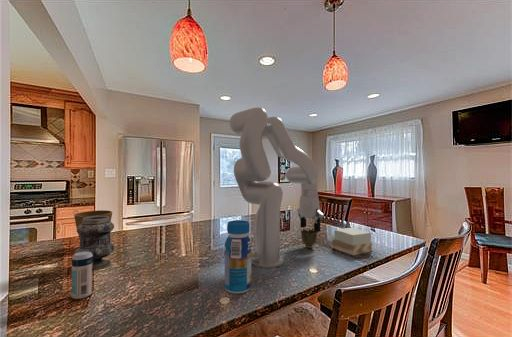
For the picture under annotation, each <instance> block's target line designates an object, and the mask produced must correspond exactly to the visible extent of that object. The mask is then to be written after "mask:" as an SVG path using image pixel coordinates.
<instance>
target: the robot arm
mask: <svg viewBox="0 0 512 337" xmlns="http://www.w3.org/2000/svg"><path fill="white" fill-rule="evenodd" d="M229 127H230V130H232V132H233V133H235V134H236V135H238V136H240V139H239V151H240V154H241V157H240V158H239V159H237V160H236V161H235V162H234V165H233V175H234V179H235V181H236V184H237V186H238V188H239V191H240V194H241V195H242V197H243V199H244V201H246V202H247V203H249V204H253V205H258V209H257V211H256V214H255V248H254V249H253V250H252V256H251V265H253V266H255V267H257V268H258V267H259V268H263V269H264V268H265V269H275V268H279V267H281V266H283V264H284V263H285V262H284V258H283V257H282V256H280V255H281V253H280V252H281V250H280V246H281V243H280V242H281V241H280V240H281V230H280V229H281V223H280V222H281V221H280V220H281V218H280V217H281V206H282V200H283V196H284V195H283V193H284V192H283V189H282V187H281V185H280V184H278V183H277V182H274V181H268V179H269V178H270V176H271V172H272V171H271V167H270V162H269V161H268V160H269V159H268V157H267V155H266V152H265V149H264V145H263V140H266V139H267V140H268V141H269V143H270V145H271V147H272V148H273V150H274V152H275V153H276V154H275V155H277V157H279V158H281V159H283V160H286V161H289V162H291V163H293V164H295V165H297V166H293V167H289V169H287V171H286V174H285V178H286V180H287V181H288V182H289V183H292V184H301V185H300V186H301V188H300V190H301V191H300V192H301V195H300V196H299V204H298V205H299V206H298V208H297V214H298V216H299V219H300V223H299V224H300V228H303V229H304V228H306V227H307V219H310V220H311V219H312V220H313V221H314V223H313V230H314V232H317V233H318V232H321V223H322V221H323V220H324V219H323V218H324V216H325V214H324V213H323V212H322V211H321V207H320V199H319V194H318V192H319V191H318V176H319V175H318V169H317V167H316V164H315V163H314V161H313V159H312V157H311V156H310V155H308V154H307V153H306V152H305V151H303V150H302V149H301V148H300V147H297V145H295V144H294V141H293V139H292V138H291V135H290V134H289V132H288V130H287V128H286V126H285V124H284V122H283V120H282V119H281V118H280V117H277V116H269V117H268V113H267V111H266V110H265V108H262V107H252V108H249V109H244V110H240V111H239V112H236V113H234V114H232V116H230V119H229ZM266 180H267V181H266Z"/></svg>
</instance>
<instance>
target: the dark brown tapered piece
mask: <svg viewBox="0 0 512 337" xmlns="http://www.w3.org/2000/svg"><path fill="white" fill-rule="evenodd" d="M300 235H301V240H302V243H303V244H304V247H305V248H306V249H308V250H312V249H313V248H314V245H315V244H316V242H317V239H318V238H317V235H318V232H314V228H313V229H308V230H307V229H304V228H303V229H302V230H300Z"/></svg>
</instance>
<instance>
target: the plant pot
mask: <svg viewBox="0 0 512 337" xmlns="http://www.w3.org/2000/svg"><path fill="white" fill-rule="evenodd" d="M73 215H74V216H73V217H74V223H75V226H76V229H77V227H78V226H79V225H80V224H82V220H83V218H86V217H93V216H108V217H109V219H110V222H112V217H113V211H112V210H104V209H103V210H102V209H101V210H100V209H99V210H88V211H82V212H77V213H75V214H73ZM77 234H78V233H77ZM78 237H79V239H80V234H78Z"/></svg>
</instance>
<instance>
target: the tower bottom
mask: <svg viewBox="0 0 512 337" xmlns="http://www.w3.org/2000/svg"><path fill="white" fill-rule="evenodd" d="M331 246H332V249H334V248H335V250H337V251H340V252H342V253H345V254H348V255H352V256H357V255H361V254H366V253H371V252H372V251H373V250H372V246H373V244H372V241H371V243H366V244H360V245H354V246H352V245H349V244H346V243H344V242H341V241H338V240H335V239H334V238H332V240H331Z"/></svg>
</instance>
